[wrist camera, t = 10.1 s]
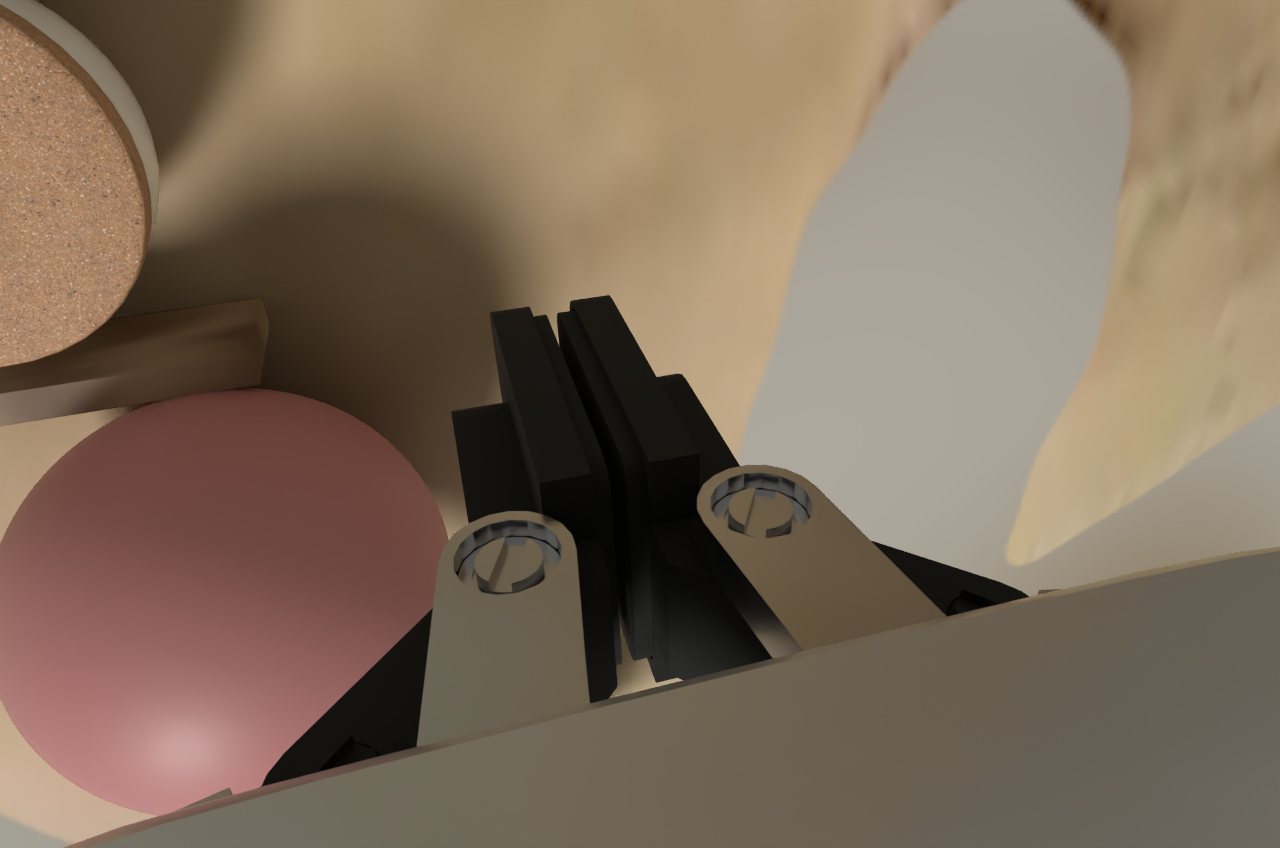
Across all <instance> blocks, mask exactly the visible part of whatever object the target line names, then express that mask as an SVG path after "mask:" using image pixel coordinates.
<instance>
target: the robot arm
mask: <svg viewBox="0 0 1280 848" xmlns="http://www.w3.org/2000/svg"><path fill="white" fill-rule="evenodd" d="M490 318H491V326H492V334H493V340H494V347H495V354H496V361H497V368H498V375H499V382H500V389H501V396H502V403H499V404H493V405H487V406H481V407H475V408H469V409H463V410H457V411H451V413H452V420H453V426H454V433H455V439H456V445H457V452H458V458H459V464H460V471H461V477H462V483H463V490H464V496H465V503H466V509H467V515H468V522H469V524H468V525H466V526H465V527H463V528H462V529H461V530H459V531H458V532H456V533H455V534H454V535H453V536H452V537H451V539H450V540H449V541H448V542H447V544H446V545H445V546H444V547H443V550H442V553H441V556H440V559H439V562H438V569H437V577H436V586H435V594H434V603H433V608H432V609H431V610H430V611H429V612H428V613H427V614H426V615H425V616H424V617H423V618H422V619H421V620H420V621H419V622H418V623H417V624H416V625H415V626H414V627H413V628H412V629H411V630H410V631H409V632H408V633H407V634H405V635H404V636H403V637H402V638H401V639H400V640H399V641H398V642H397V643H396V644H395V645H394V646H393V647H392V648H391V649H390V650H389V651H388V652H387V653H386V654H385V655H384V656H383V657H382V658H381V659H380V660H379V661H378V662H377V663H376V664H375V665H374V666H373V667H372V668H371V669H370V670H369V671H368V672H367V673H366V674H365V675H364V676H362V677H361V678H360V679H359V680H358V681H357V682H356V683H355V684H354V685H353V686H352V687H351V688H350V689H349V690H348V691H347V692H346V693H345V694H344V695H343V696H342V697H341V698H340V699H339V700H338V701H337V702H336V703H335V704H334V705H333V706H332V707H331V708H330V709H329V710H328V711H327V712H326V713H325V714H324V715H323V716H322V717H321V718H320V719H318V720H317V721H316V722H315V723H314V724H313V725H312V726H311V727H310V728H309V729H308V730H307V731H306V732H305V733H304V734H303V735H302V736H301V737H300V738H299V739H298V740H297V741H296V742H295V743H294V744H293V745H292V746H291V747H290V748H289V749H288V750H287V751H286V752H285V753H284V754H283V755H282V756H281V757H280V759H279V760H278V761H277V762H276V764H275V765H274V766H273V767H272V769H271V770H270V771H269V772H268V773H267V775H266V777H265V779H264V781H263V784H262V786H261V787H258V788H256V789H252V790H249V791H245V792H241V793H238V794H234V795H233V794H232V792H231V790H230V788H227V789H224V790H222V791H220V792H217V793H215V794H213V795H211V796H208V797H206V798H204V799H201V800H199V801H197V802H195V803H192V804H190V805H188V806H185V807H183V808H181V809H179V810H176V811H174V812H171V813H168V814H164V815H161V816H157V817H154V818H150V819H147V820H143V821H140V822H137V823H133V824H130V825H126V826H123V827H120V828H117V829H114V830H111V831H109V832H106V833H103V834H100V835H98V836H95V837H92V838H89V839H86V840H84V841H81V842H78V843H75V844H73V845H70V846H67V847H64V848H1280V547H1277V548H1267V549H1259V550H1251V551H1243V552H1236V553H1231V554H1225V555H1221V556H1215V557H1210V558H1205V559H1200V560H1195V561H1190V562H1185V563H1179V564H1174V565H1170V566H1164V567H1159V568H1154V569H1149V570H1144V571H1139V572H1135V573H1131V574H1127V575H1122V576H1119V577H1114V578H1110V579H1106V580H1101V581H1097V582H1093V583H1088V584H1084V585H1080V586H1075V587H1070V588H1066V589H1054V590H1039V592H1038V595H1036V596H1031V597H1029V596H1027V595H1026V594H1025V593H1023V592H1022V591H1019V590H1017V589H1015V588H1013V587H1010V586H1008V585H1005V584H1003V583H1001V582H998V581H995V580H992V579H988V578H986V577H982V576H979V575H976V574H973V573H970V572H967V571H964V570H960V569H958V568H954V567H951V566H948V565H945V564H942V563H938V562H936V561H933V560H929V559H926V558H923V557H920V556H917V555H914V554H911V553H908V552H904V551H902V550H898V549H895V548H892V547H889V546H886V545H883V544H880V543H877V542H873V541H870V540H869V539H868V538H867V537H866V536H865V535H864V534H863V533H862V532H861V531H860V530H859V529H858V528H857V527H856V526H855V525H854V524H853V523H852V522H851V521H850V520H849V519H848V518H847V517H846V516H845V515H844V514H843V513H842V512H841V511H840V510H839V509H838V508H837V507H836V506H835V505H834V504H833V503H832V502H831V501H830V500H829V499H828V498H827V497H826V496H825V495H824V494H823V493H822V492H821V491H820V490H819V489H818V488H817V487H816V486H815V485H814V484H812V483H811V482H810V481H808V480H807V479H806V478H804V477H803V476H801V475H799V474H796V473H794V472H792V471H789V470H787V469H782V468H778V467H773V466H768V465H745V466H740V465H739V464H738V462H737V460H736V459H735V457H734V456H733V454H732V452H731V451H730V449H729V448H728V446H727V444H726V443H725V441H724V440H723V438H722V436H721V435H720V433H719V432H718V430H717V428H716V427H715V425H714V424H713V422H712V420H711V419H710V417H709V416H708V414H707V412H706V411H705V409H704V407H703V406H702V404H701V403H700V401H699V399H698V398H697V396H696V395H695V393H694V391H693V390H692V388H691V387H690V385H689V383H688V382H687V380H686V379H685V378H684V376H683V375H682V374H673V375H667V376H661V377H656V375H655V374H654V372H653V370H652V368H651V367H650V365H649V363H648V361H647V359H646V358H645V356H644V354H643V352H642V351H641V349H640V347H639V345H638V344H637V342H636V340H635V338H634V337H633V335H632V333H631V331H630V330H629V328H628V326H627V324H626V323H625V321H624V319H623V317H622V315H621V314H620V312H619V310H618V308H617V307H616V305H615V303H614V301H613V300H612V298H611V297H610V295H607V296H600V297H593V298H586V299H579V300H573V301H571V302H570V311H568V312H561V313H558V314H557V325H558V336H559V344H558V342H557V340H556V337H555V335H554V332H553V330H552V327H551V325H550V322H549V320H548V317H547V315H541V316H534V317H533V314H532V312H531V309H530V307H524V308H517V309H510V310H503V311H497V312H490ZM559 346H560V347H559ZM619 621H620V624H621V627H622V630H623V633H624V636H625V639H626V642H627V645H628V648H629V651H630V654H631V656H632V658H633V660H639V659H643V658H647V659H648V662H649V664H650V667H651V670H652V673H653V676H654V678H655V681H656V683H657V682H661V681H665V680H670V679H674V678H679V679H682V680H684V681H680V682H675V683H671V684H667V685H663V686H659V687H655V688H651V689H647V690H643V691H639V692H635V693H631V694H627V695H622V696H618V697H614V698H610V696H611V695H612V693H613V692H614V691H615V689H616V688H617V674H616V665H618V664H621V662H622V656H621V640H620V624H619ZM609 698H610V699H609Z"/></svg>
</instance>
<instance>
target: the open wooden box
mask: <svg viewBox="0 0 1280 848" xmlns="http://www.w3.org/2000/svg"><path fill="white" fill-rule="evenodd" d="M269 328H270V323H269V319H268V316H267V313H266V310H265V306H264V303H263V300H262V298H255V299H248V300H241V301H234V302H227V303H220V304H213V305H206V306H198V307H191V308H184V309H177V310H170V311H163V312H156V313H149V314H141V315H134V316H127V317H120V318H113V319H109V320H108V321H107V322H106V323H104V324H103V325H102V326H101V327H99V328H98V329H97V330H95V331H94V332H93V333H92V334H90V335H89V336H88V337H86V338H85V339H83V340H81V341H79V342H77V343H76V344H74V345H72V346H70V347H68V348H66V349H64V350H62V351H60V352H57V353H55V354H52V355H49V356H46V357H43V358H40V359H37V360H34V361H30V362H25V363H20V364H15V365H10V366H5V367H0V426H6V425H12V424H18V423H24V422H31V421H37V420H43V419H49V418H55V417H62V416H68V415H74V414H80V413H86V412H93V411H99V410H105V409H111V408H117V407H123V406H130V405H136V404H142V403H148V402H154V401H161V400H167V399H171V398H175V397H180V396H185V395H191V394H197V393H205V392H216V391H223V390H229V389H235V388H241V387H247V386H253V385H260V380H261V374H262V369H263V363H264V357H265V351H266V345H267V339H268V334H269Z"/></svg>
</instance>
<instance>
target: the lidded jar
mask: <svg viewBox="0 0 1280 848" xmlns="http://www.w3.org/2000/svg"><path fill="white" fill-rule="evenodd" d="M159 192H160V182H159V165H158V160H157V156H156V151H155V147H154V143H153V139H152V135H151V131H150V129H149V126H148V124H147V121H146V119H145V117H144V114H143V112H142V109H141V107H140V105H139V103H138V102H137V100H136V98H135V96H134V95H133V93H132V91H131V90H130V88H129V86H128V84H127V83H126V81H125V80H124V79H123V77H122V76H121V75H120V74H119V72H118V71H117V70H116V68H115V67H114V66H113V65H112V63H111V62H110V61H109V59H108V58H107V57H106V56H105V55H104V54H103V53H102V52H101V51H100V50H99V49H98V48H97V47H96V46H95V45H94V44H93V43H92V42H91V41H90V40H89V39H88V38H87V37H86V36H85V35H84V34H82V33H81V32H80V31H79V30H77V29H76V28H75V27H73V26H72V25H71V24H70V23H68V22H67V21H66V20H65V19H63V18H62V17H61V16H60V15H58V14H57V13H55V12H53V11H52V10H50V9H48V8H47V7H45V6H44V5H42V4H40V3H39V2H37V1H35V0H0V367H5V366H10V365H15V364H20V363H25V362H30V361H34V360H37V359H40V358H43V357H46V356H49V355H52V354H55V353H57V352H60V351H62V350H64V349H66V348H68V347H70V346H72V345H74V344H76V343H77V342H79V341H81V340H83V339H85V338H86V337H88V336H89V335H90V334H92V333H93V332H94V331H95V330H97V329H98V328H99V327H101V326H102V325H103V324H104V323H106V322H107V321H108V320H109V318H110V317H111V316H112V315H113V314H114V313H115V312H116V311H117V309H118V308H119V307H120V306H121V305H122V304H123V303H124V301H125V299H126V298H127V296H128V294H129V292H130V291H131V289H132V287H133V285H134V284H135V282H136V280H137V279H138V277H139V275H140V272H141V269H142V266H143V263H144V260H145V257H146V254H147V251H148V248H149V242H150V239H151V236H152V233H153V230H154V227H155V224H156V218H157V210H158V202H159Z"/></svg>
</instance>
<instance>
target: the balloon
mask: <svg viewBox="0 0 1280 848" xmlns="http://www.w3.org/2000/svg"><path fill="white" fill-rule="evenodd" d="M448 541H449V540H448V536H447V532H446V529H445V526H444V523H443V520H442V517H441V514H440V512H439V510H438V507H437V505H436V503H435V501H434V499H433V497H432V495H431V493H430V491H429V490H428V488H427V486H426V485H425V483H424V481H423V480H422V478H421V477H420V476H419V474H418V473H417V471H416V470H415V469H414V467H413V466H412V465H411V464H410V463H409V461H408V460H407V459H406V458H405V457H404V456H403V455H402V454H401V453H400V452H399V451H398V449H396V448H395V447H394V446H393V445H392V444H391V443H390V442H389V441H388V440H387V439H385V438H384V437H383V436H382V435H380V434H379V433H378V432H377V431H375V430H374V429H372V428H371V427H370V426H368V425H366V424H365V423H363V422H362V421H360V420H359V419H357V418H355V417H353V416H352V415H350V414H348V413H346V412H344V411H342V410H340V409H337V408H335V407H333V406H331V405H328V404H326V403H323V402H320V401H317V400H314V399H311V398H308V397H304V396H300V395H296V394H292V393H287V392H282V391H276V390H268V389H258V388H235V389H229V390H223V391H216V392H205V393H197V394H191V395H185V396H180V397H175V398H171V399H167V400H161V401H157V402H154V403H151V404H148V405H146V406H143V407H141V408H138V409H136V410H134V411H132V412H129V413H127V414H125V415H123V416H121V417H119V418H117V419H115V420H113V421H112V422H110V423H108V424H106V425H105V426H103V427H101V428H100V429H98V430H97V431H95V432H94V433H92V434H91V435H89V436H88V437H86V438H85V439H83V440H82V441H81V442H79V443H78V444H77V445H76V446H74V447H73V448H72V449H71V450H69V451H68V452H67V453H66V454H65V455H64V456H63V457H61V458H60V459H59V460H58V461H57V462H56V463H55V464H54V465H53V466H52V467H51V468H50V469H49V470H48V471H47V472H46V473H45V474H44V476H43V477H42V478H41V479H40V480H39V481H38V483H37V484H36V485H35V486H34V488H33V489H32V490H31V491H30V493H29V494H28V495H27V497H26V498H25V500H24V501H23V502H22V504H21V505H20V507H19V509H18V510H17V512H16V514H15V515H14V517H13V519H12V521H11V523H10V524H9V526H8V528H7V530H6V533H5V535H4V537H3V539H2V542H1V544H0V699H1V701H2V703H3V705H4V707H5V709H6V711H7V713H8V715H9V716H10V718H11V720H12V721H13V723H14V725H15V726H16V728H17V729H18V731H19V732H20V733H21V735H22V736H23V737H24V739H25V740H26V741H27V742H28V744H29V745H30V746H31V747H32V748H33V749H34V751H35V752H36V753H37V754H38V755H39V756H40V757H41V758H42V759H43V760H44V761H45V762H47V763H48V764H49V765H50V766H51V767H52V768H53V769H55V770H56V771H57V772H58V773H60V774H61V775H62V776H64V777H65V778H66V779H68V780H69V781H71V782H72V783H74V784H75V785H77V786H79V787H80V788H82V789H84V790H86V791H87V792H89V793H91V794H93V795H95V796H97V797H99V798H102V799H104V800H106V801H108V802H111V803H113V804H116V805H119V806H122V807H125V808H128V809H131V810H134V811H138V812H142V813H147V814H152V815H158V816H161V815H164V814H168V813H171V812H174V811H176V810H179V809H181V808H183V807H185V806H188V805H190V804H192V803H195V802H197V801H199V800H201V799H204V798H206V797H208V796H211V795H213V794H215V793H217V792H220V791H222V790H224V789H227V788H230V790H231V792H232V794H233V795H234V794H238V793H241V792H245V791H249V790H252V789H256V788H258V787H261V786H262V784H263V781H264V779H265V777H266V775H267V773H268V772H269V771H270V770H271V769H272V767H273V766H274V765H275V764H276V762H277V761H278V760H279V759H280V757H281V756H282V755H283V754H284V753H285V752H286V751H287V750H288V749H289V748H290V747H291V746H292V745H293V744H294V743H295V742H296V741H297V740H298V739H299V738H300V737H301V736H302V735H303V734H304V733H305V732H306V731H307V730H308V729H309V728H310V727H311V726H312V725H313V724H314V723H315V722H316V721H317V720H318V719H320V718H321V717H322V716H323V715H324V714H325V713H326V712H327V711H328V710H329V709H330V708H331V707H332V706H333V705H334V704H335V703H336V702H337V701H338V700H339V699H340V698H341V697H342V696H343V695H344V694H345V693H346V692H347V691H348V690H349V689H350V688H351V687H352V686H353V685H354V684H355V683H356V682H357V681H358V680H359V679H360V678H361V677H362V676H364V675H365V674H366V673H367V672H368V671H369V670H370V669H371V668H372V667H373V666H374V665H375V664H376V663H377V662H378V661H379V660H380V659H381V658H382V657H383V656H384V655H385V654H386V653H387V652H388V651H389V650H390V649H391V648H392V647H393V646H394V645H395V644H396V643H397V642H398V641H399V640H400V639H401V638H402V637H403V636H404V635H405V634H407V633H408V632H409V631H410V630H411V629H412V628H413V627H414V626H415V625H416V624H417V623H418V622H419V621H420V620H421V619H422V618H423V617H424V616H425V615H426V614H427V613H428V612H429V611H430V610H431V609H432V608H433V603H434V594H435V586H436V577H437V569H438V562H439V559H440V556H441V553H442V550H443V547H444V546H445V545H446V544H447V542H448Z"/></svg>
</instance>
